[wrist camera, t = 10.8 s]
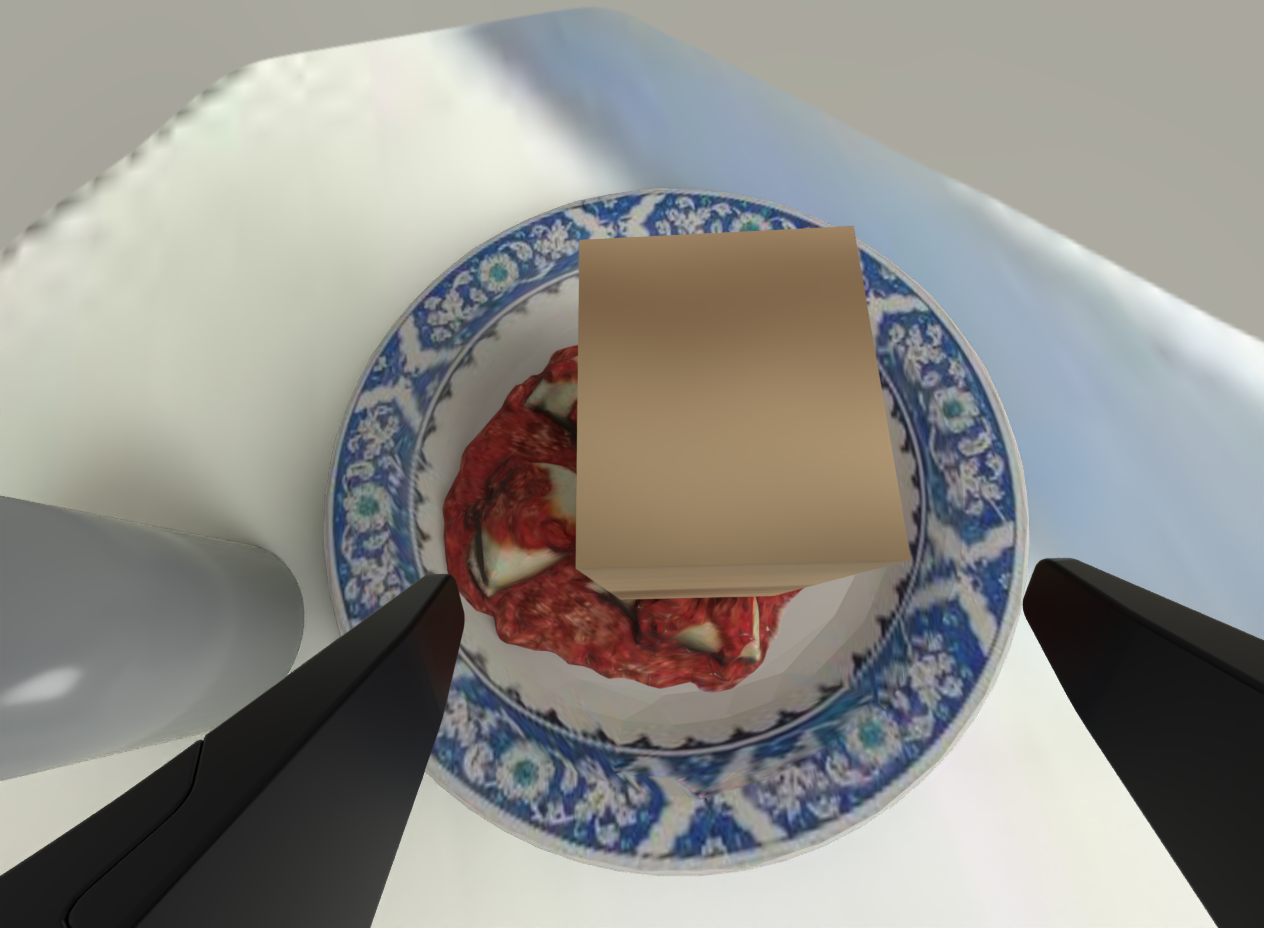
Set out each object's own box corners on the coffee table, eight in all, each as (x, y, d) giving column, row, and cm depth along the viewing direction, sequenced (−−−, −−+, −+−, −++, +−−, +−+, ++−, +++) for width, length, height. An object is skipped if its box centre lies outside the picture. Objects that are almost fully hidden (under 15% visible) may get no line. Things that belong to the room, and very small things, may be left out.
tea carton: (772, 596, 17) (910, 559, 8) (620, 599, 18) (576, 567, 8) (756, 424, 19) (853, 226, 10) (618, 430, 19) (579, 239, 10)
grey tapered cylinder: (182, 777, 19) (-293, 928, 10) (95, 630, 21) (-383, 636, 11) (339, 635, 20) (54, 645, 11) (244, 508, 22) (-75, 418, 12)
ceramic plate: (828, 1028, 16) (863, 1112, 14) (226, 604, 21) (159, 600, 18) (1080, 365, 22) (1141, 328, 19) (563, 151, 27) (551, 95, 24)
